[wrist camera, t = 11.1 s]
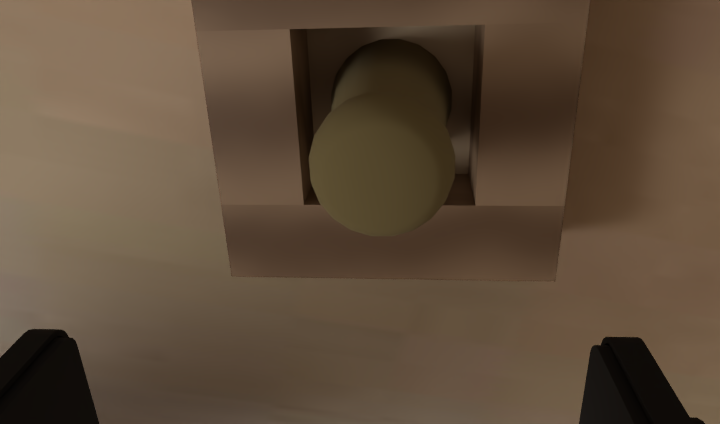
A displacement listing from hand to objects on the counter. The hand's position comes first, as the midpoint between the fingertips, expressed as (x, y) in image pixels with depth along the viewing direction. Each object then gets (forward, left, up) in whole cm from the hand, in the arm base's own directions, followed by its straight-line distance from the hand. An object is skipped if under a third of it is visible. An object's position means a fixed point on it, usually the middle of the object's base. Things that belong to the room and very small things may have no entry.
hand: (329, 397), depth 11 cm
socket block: (0, 0, -22) cm, 22 cm away
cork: (0, 0, -21) cm, 21 cm away
